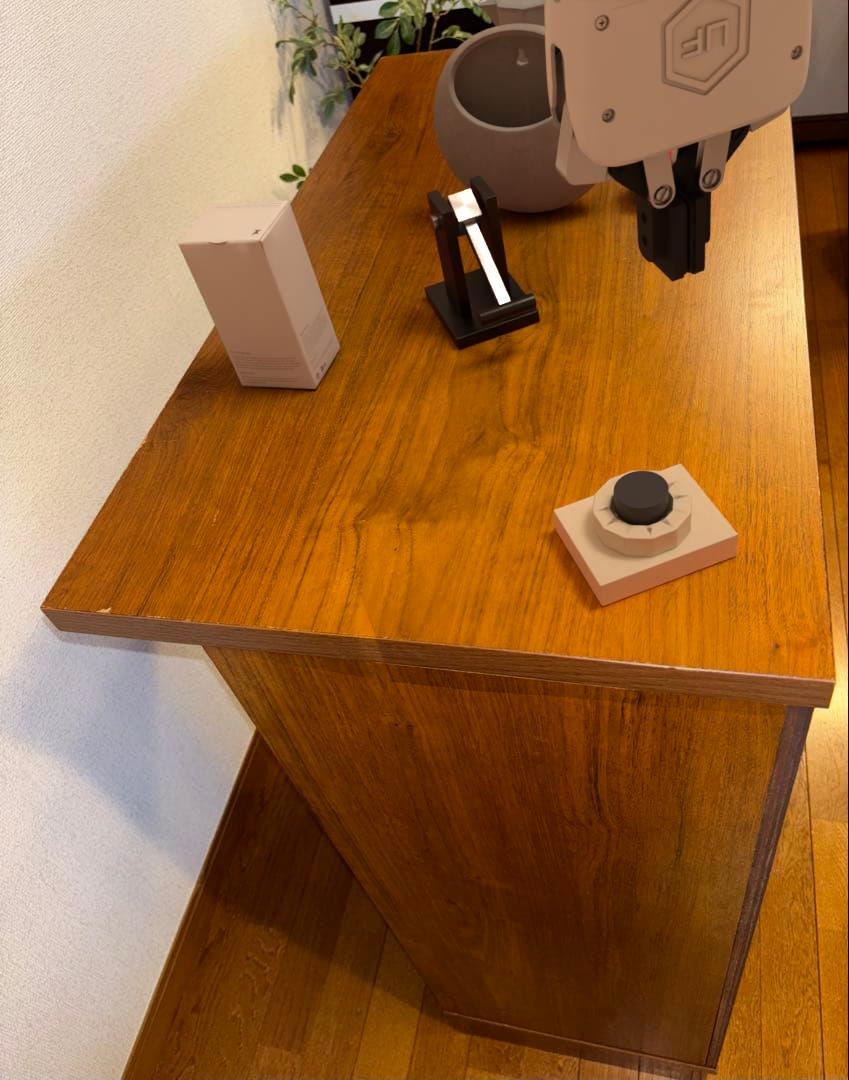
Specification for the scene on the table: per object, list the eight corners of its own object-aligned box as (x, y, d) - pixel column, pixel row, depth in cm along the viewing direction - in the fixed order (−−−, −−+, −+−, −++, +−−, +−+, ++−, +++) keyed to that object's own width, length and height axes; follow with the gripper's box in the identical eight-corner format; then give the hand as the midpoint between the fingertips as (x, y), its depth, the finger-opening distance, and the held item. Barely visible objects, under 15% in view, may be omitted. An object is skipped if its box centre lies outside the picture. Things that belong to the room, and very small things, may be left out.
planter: (441, 229, 105) (405, 47, 91) (460, 195, 109) (428, 17, 96) (614, 228, 98) (603, 32, 85) (627, 192, 103) (618, 0, 89)
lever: (535, 313, 85) (538, 300, 82) (481, 332, 84) (482, 319, 82) (484, 198, 88) (485, 182, 85) (432, 216, 87) (432, 200, 85)
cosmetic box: (342, 350, 93) (296, 197, 82) (315, 394, 89) (262, 240, 78) (265, 346, 96) (210, 198, 85) (235, 389, 92) (174, 240, 81)
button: (653, 482, 68) (653, 463, 67) (678, 514, 66) (678, 496, 64) (606, 499, 68) (604, 481, 67) (629, 533, 65) (627, 515, 64)
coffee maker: (485, 142, 117) (460, -22, 104) (503, 108, 122) (481, -51, 109) (611, 136, 112) (601, -37, 99) (623, 101, 117) (615, -67, 104)
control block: (680, 484, 72) (680, 444, 70) (737, 556, 67) (739, 515, 64) (555, 530, 72) (550, 491, 69) (602, 607, 66) (598, 568, 63)
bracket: (540, 321, 90) (525, 202, 81) (458, 350, 89) (435, 233, 81) (501, 271, 97) (484, 157, 88) (426, 297, 96) (401, 185, 88)
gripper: (512, -107, 32) (562, 353, 45) (926, -237, 33) (858, 249, 46) (441, -145, 37) (504, 277, 50) (800, -256, 38) (770, 185, 51)
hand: (673, 263), depth 48 cm, fingers closed
